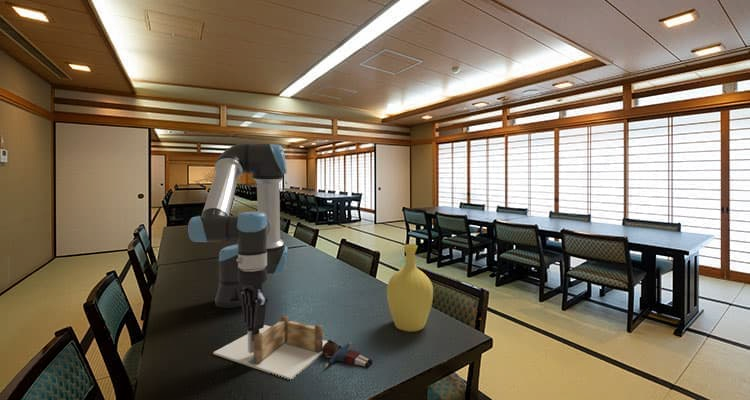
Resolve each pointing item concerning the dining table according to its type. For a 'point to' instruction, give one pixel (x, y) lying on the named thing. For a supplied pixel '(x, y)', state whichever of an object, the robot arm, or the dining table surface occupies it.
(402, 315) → the vase
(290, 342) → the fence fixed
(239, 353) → the card
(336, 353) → the toy
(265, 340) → the fence wing
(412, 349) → the dining table surface
